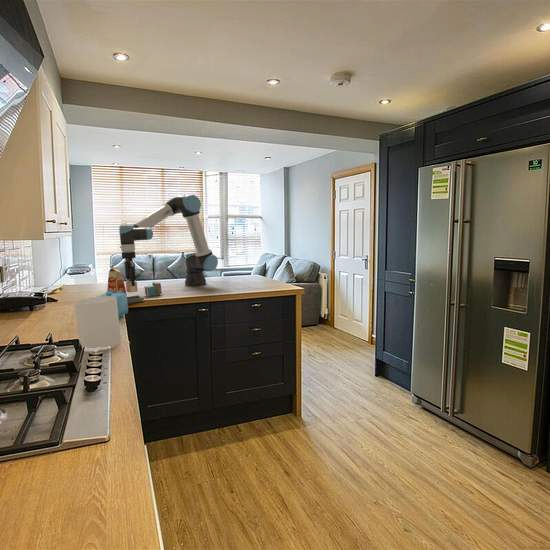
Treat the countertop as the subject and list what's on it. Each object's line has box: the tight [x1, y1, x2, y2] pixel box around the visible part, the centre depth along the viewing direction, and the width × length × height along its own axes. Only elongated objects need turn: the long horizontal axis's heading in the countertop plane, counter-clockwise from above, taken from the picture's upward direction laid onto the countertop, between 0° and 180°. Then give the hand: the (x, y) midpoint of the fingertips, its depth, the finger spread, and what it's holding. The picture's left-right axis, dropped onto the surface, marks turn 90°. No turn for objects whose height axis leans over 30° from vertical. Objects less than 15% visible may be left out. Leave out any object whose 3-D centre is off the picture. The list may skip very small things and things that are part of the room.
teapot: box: [96, 290, 129, 319], centre depth 190 cm, size 22×11×14 cm, turn 175°
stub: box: [125, 280, 139, 293], centre depth 228 cm, size 5×5×6 cm
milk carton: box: [106, 266, 127, 293], centre depth 242 cm, size 9×9×20 cm
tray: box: [127, 295, 145, 305], centre depth 229 cm, size 10×10×2 cm
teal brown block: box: [144, 281, 163, 297], centre depth 246 cm, size 9×7×8 cm
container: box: [74, 296, 122, 349], centre depth 149 cm, size 14×14×18 cm
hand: (131, 290), depth 228 cm, fingers closed on stub, 5 cm apart
